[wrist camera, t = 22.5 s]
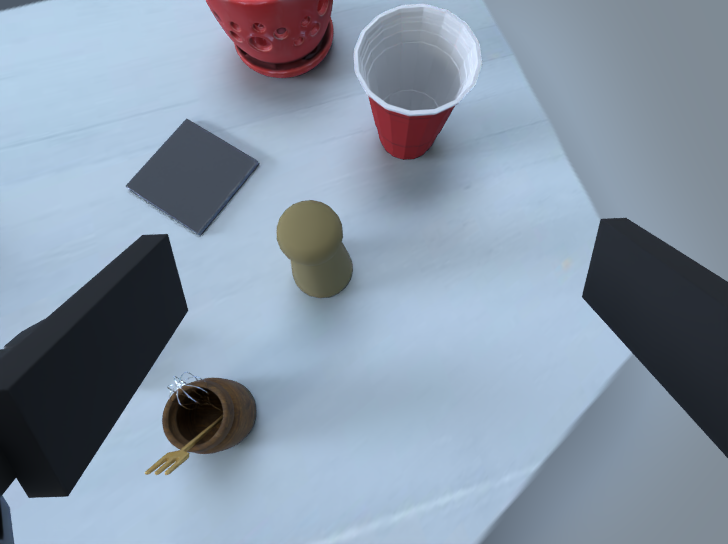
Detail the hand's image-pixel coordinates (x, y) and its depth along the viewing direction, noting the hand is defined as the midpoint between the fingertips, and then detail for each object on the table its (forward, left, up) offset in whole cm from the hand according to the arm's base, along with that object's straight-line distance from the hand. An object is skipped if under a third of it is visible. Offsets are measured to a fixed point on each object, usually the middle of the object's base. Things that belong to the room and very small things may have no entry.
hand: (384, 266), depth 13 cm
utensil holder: (+5, +13, -28) cm, 31 cm away
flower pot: (+34, -17, -28) cm, 47 cm away
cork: (+10, -2, -28) cm, 30 cm away
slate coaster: (+27, +1, -28) cm, 39 cm away
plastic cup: (+15, -19, -28) cm, 37 cm away
